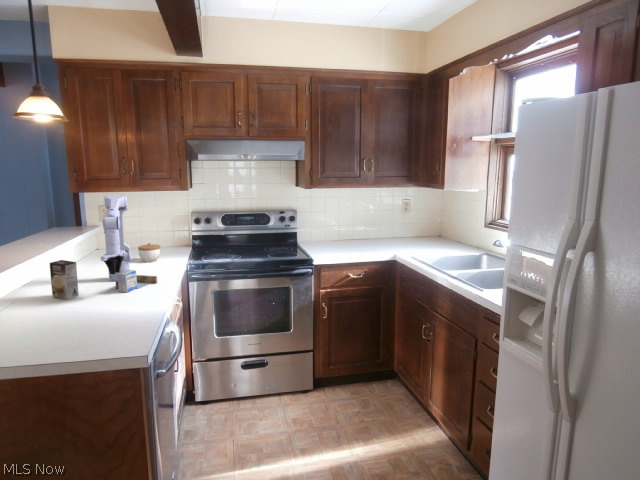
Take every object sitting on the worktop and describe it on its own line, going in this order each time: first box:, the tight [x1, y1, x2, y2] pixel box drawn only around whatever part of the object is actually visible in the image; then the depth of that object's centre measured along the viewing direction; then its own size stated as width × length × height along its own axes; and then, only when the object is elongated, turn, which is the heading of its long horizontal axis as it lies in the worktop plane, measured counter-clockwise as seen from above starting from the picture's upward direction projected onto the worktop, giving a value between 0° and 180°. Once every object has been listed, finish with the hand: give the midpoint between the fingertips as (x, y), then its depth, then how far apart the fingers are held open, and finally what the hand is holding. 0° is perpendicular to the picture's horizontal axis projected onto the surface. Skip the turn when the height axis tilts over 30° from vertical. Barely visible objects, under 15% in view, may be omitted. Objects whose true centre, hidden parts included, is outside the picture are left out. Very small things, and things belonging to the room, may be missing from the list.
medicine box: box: [118, 269, 137, 293], centre depth 204 cm, size 8×4×9 cm, turn 168°
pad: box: [135, 282, 151, 290], centre depth 212 cm, size 7×11×1 cm, turn 170°
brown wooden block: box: [115, 274, 158, 290], centre depth 211 cm, size 13×14×4 cm
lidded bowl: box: [137, 242, 161, 263], centre depth 264 cm, size 13×13×11 cm
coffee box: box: [49, 259, 80, 301], centre depth 191 cm, size 9×6×16 cm
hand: (114, 273), depth 194 cm, fingers open, 2 cm apart
